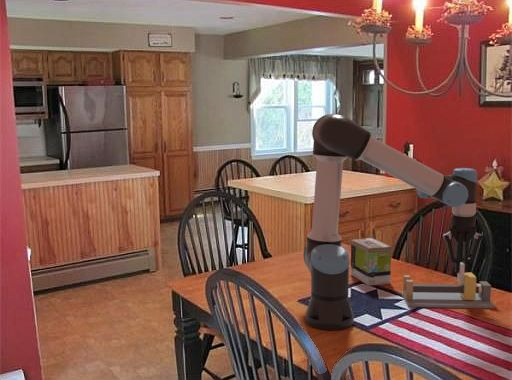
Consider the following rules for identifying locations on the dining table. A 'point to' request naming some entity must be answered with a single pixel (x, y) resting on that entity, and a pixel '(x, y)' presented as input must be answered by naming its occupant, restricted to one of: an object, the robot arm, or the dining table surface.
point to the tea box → (371, 261)
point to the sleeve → (469, 287)
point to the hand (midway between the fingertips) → (460, 281)
